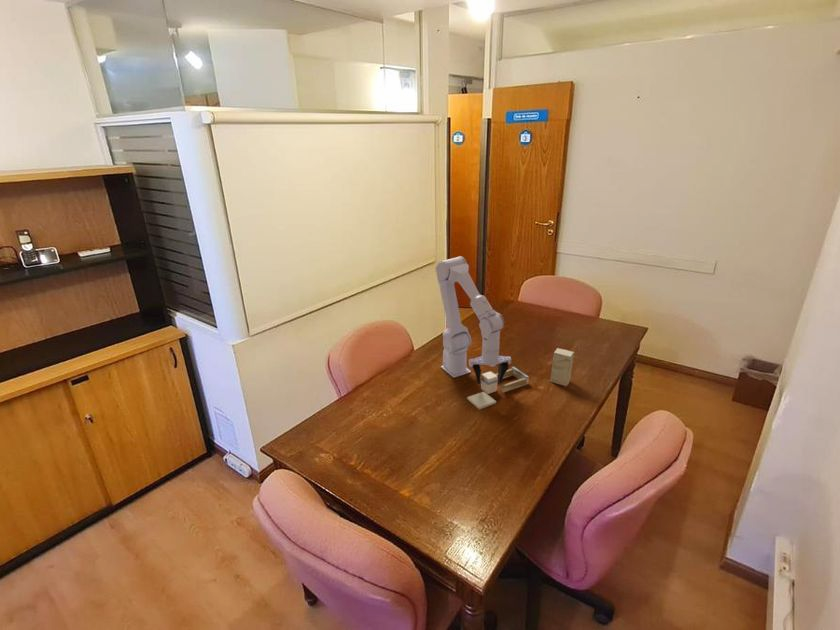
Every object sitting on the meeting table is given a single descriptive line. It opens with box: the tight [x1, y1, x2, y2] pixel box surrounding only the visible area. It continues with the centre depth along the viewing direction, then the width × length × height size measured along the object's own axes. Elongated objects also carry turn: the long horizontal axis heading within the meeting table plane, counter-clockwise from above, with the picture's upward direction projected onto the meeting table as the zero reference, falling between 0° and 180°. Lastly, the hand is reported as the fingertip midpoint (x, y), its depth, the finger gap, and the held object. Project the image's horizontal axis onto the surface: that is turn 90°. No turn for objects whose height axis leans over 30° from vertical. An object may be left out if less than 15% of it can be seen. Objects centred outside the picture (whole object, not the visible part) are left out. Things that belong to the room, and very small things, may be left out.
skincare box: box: [549, 347, 575, 387], centre depth 159 cm, size 6×4×12 cm
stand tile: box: [466, 391, 497, 410], centre depth 151 cm, size 7×7×1 cm
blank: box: [480, 371, 499, 395], centre depth 156 cm, size 4×4×6 cm
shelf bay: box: [494, 366, 530, 394], centre depth 161 cm, size 8×12×3 cm
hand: (488, 381), depth 156 cm, fingers open, 7 cm apart
